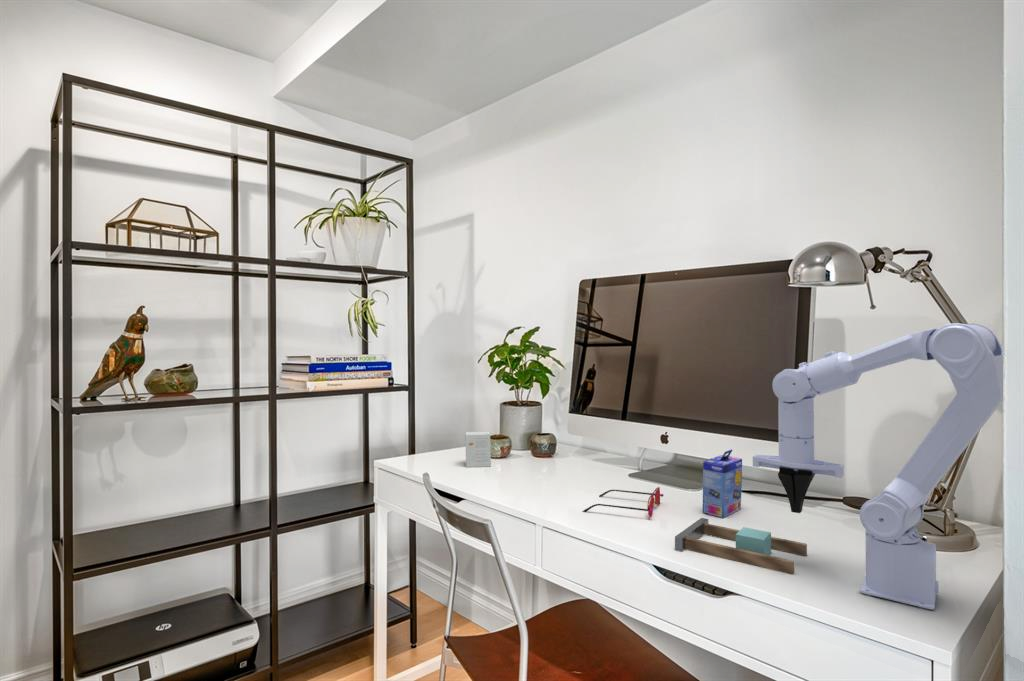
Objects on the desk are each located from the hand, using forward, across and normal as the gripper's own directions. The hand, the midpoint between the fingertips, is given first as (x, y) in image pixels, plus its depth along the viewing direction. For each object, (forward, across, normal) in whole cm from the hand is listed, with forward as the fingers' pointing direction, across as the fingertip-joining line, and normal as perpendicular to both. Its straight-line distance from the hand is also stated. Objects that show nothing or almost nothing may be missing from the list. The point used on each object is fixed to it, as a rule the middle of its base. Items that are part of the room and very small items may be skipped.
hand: (796, 511), depth 101 cm
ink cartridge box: (+10, +20, -22) cm, 32 cm away
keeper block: (+10, +8, 0) cm, 12 cm away
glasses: (+10, +40, -11) cm, 43 cm away
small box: (+10, +98, -23) cm, 102 cm away
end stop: (+9, +19, 0) cm, 21 cm away
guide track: (+9, +9, 0) cm, 13 cm away
